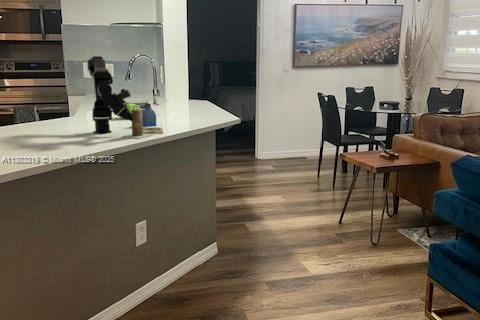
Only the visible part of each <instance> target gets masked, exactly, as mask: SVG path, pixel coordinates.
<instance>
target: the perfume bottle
mask: <svg viewBox="0 0 480 320" xmlns="http://www.w3.org/2000/svg"><path fill="white" fill-rule="evenodd" d="M151 108H152V105H151V103H147V102H146V103H144V109H141V110H142V123H143V127H144V128H151V127H157V114H156V112H155V111H154V109H151ZM150 126H151V127H150Z"/></svg>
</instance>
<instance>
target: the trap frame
mask: <svg viewBox="0 0 480 320" xmlns="http://www.w3.org/2000/svg"><path fill="white" fill-rule="evenodd" d="M143 134H149V135H153V134H164V132H163V127H161V126H160V127H159V126H158V127H157V126H152V127H143Z"/></svg>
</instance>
